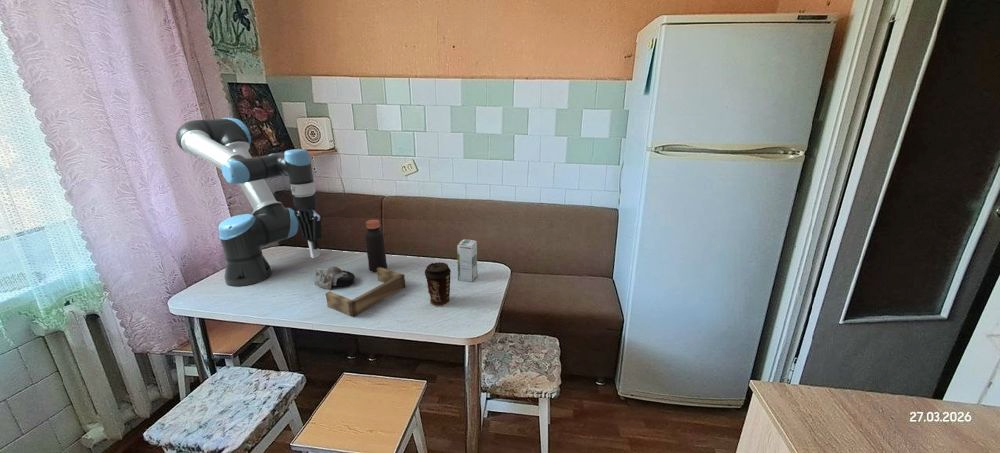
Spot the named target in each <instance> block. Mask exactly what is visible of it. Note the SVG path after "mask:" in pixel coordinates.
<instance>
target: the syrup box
mask: <svg viewBox="0 0 1000 453" xmlns="http://www.w3.org/2000/svg"><path fill="white" fill-rule="evenodd" d="M456 247H457V250H456V251H457V252H456V253H457V280H458V281H462V282H471V283H472V282H474V280H475V279H476V277H477V276H478V241H477V240H474V239H462V240H461V241H460V242H459V243H458V244H457V246H456Z"/></svg>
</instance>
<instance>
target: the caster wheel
mask: <svg viewBox="0 0 1000 453" xmlns="http://www.w3.org/2000/svg"><path fill="white" fill-rule="evenodd" d="M355 277H356V276H355V274H354V273H353V272H351V271H349V270H344V269H343V270H342V269H341V268H340V267H338V266H329V267H326V268H320V267H317V268H316V272H315V280H314V285H315V286H317V287H319V288H323V289H325V290H328V291H331V289H332V286H335V287H336V286H340V287H341V286H342V287H348V286H351V285H353V284H354V282H355Z"/></svg>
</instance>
